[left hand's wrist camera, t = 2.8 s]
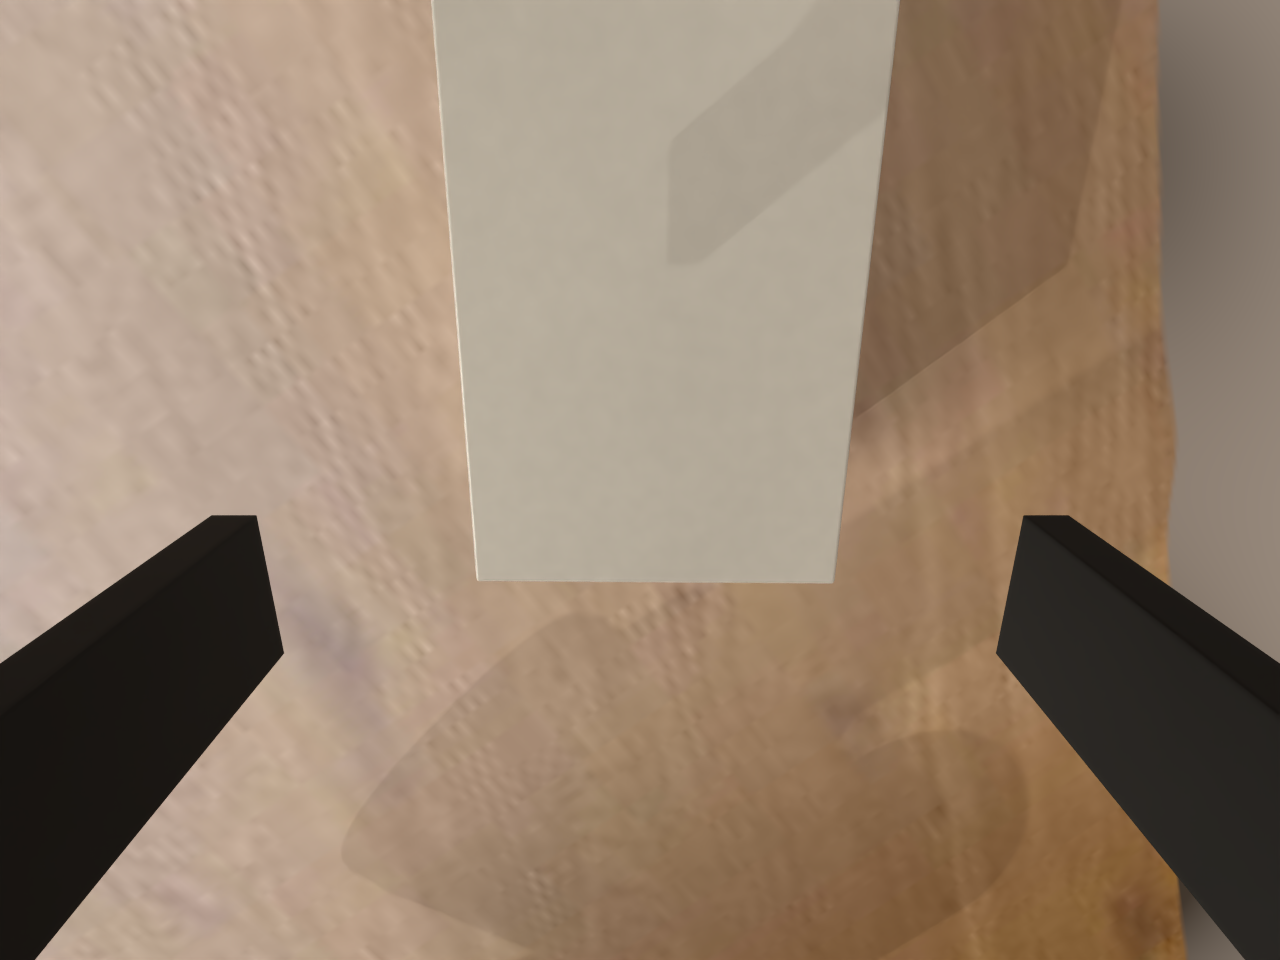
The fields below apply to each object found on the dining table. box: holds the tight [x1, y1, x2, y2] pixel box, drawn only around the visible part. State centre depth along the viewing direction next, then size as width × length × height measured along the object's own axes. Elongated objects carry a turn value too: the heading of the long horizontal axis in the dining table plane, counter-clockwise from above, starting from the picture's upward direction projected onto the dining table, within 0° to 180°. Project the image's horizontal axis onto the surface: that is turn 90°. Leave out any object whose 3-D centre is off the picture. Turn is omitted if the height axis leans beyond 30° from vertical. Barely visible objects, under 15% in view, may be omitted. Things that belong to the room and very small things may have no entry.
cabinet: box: [431, 0, 900, 583], centre depth 22 cm, size 16×10×9 cm, turn 0°
